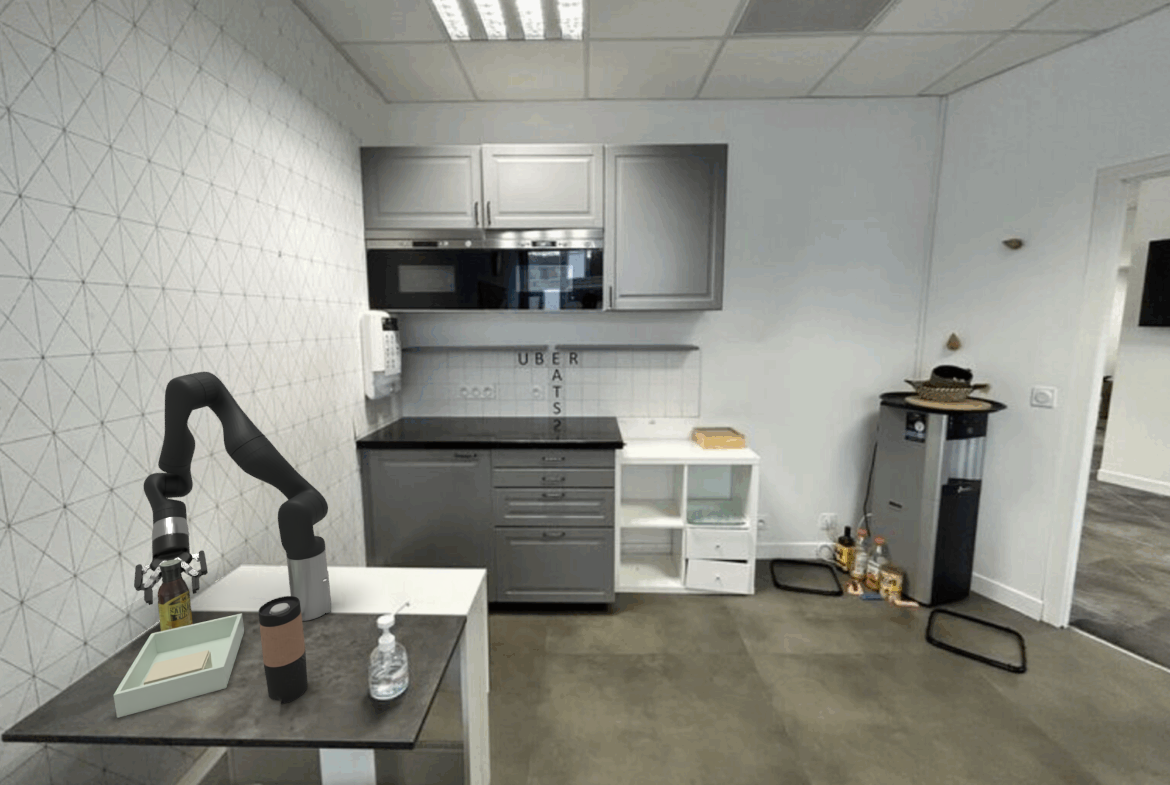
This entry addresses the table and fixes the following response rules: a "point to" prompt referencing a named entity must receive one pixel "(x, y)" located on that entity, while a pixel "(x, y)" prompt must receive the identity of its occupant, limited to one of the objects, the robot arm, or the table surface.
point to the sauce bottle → (173, 597)
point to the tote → (179, 642)
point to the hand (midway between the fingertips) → (172, 597)
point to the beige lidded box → (179, 666)
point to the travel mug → (283, 648)
